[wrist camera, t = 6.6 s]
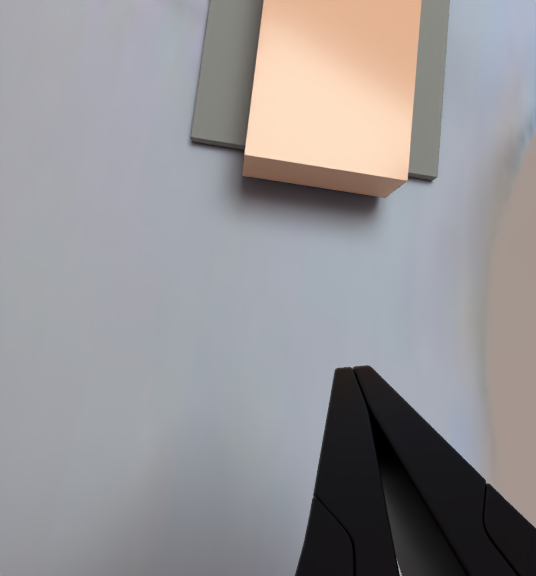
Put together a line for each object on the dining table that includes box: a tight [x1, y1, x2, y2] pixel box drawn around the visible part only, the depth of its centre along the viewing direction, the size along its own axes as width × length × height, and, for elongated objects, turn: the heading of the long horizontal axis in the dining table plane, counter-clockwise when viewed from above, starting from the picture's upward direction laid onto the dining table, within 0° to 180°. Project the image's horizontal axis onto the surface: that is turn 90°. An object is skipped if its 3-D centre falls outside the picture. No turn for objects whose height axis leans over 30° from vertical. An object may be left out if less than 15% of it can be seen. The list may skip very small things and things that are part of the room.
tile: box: [242, 0, 422, 198], centre depth 19 cm, size 3×8×12 cm
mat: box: [191, 0, 450, 180], centre depth 21 cm, size 16×14×1 cm
